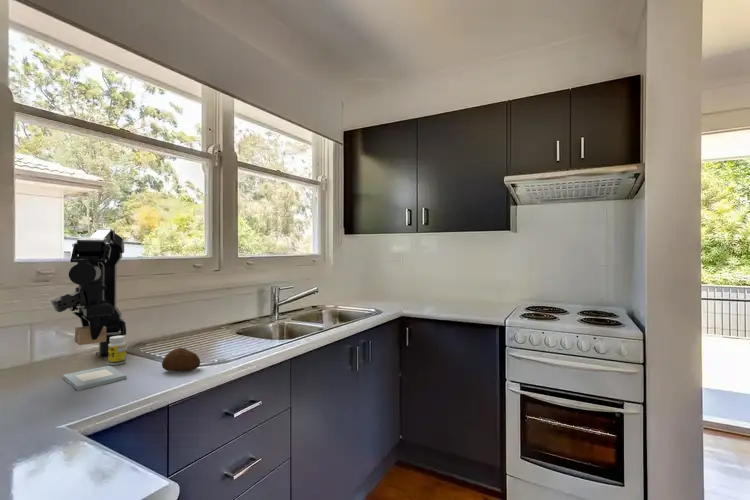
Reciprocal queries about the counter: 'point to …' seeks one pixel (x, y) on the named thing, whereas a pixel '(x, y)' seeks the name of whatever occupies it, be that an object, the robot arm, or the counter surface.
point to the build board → (94, 377)
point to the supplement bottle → (116, 350)
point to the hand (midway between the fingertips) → (91, 337)
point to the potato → (180, 360)
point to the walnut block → (88, 336)
